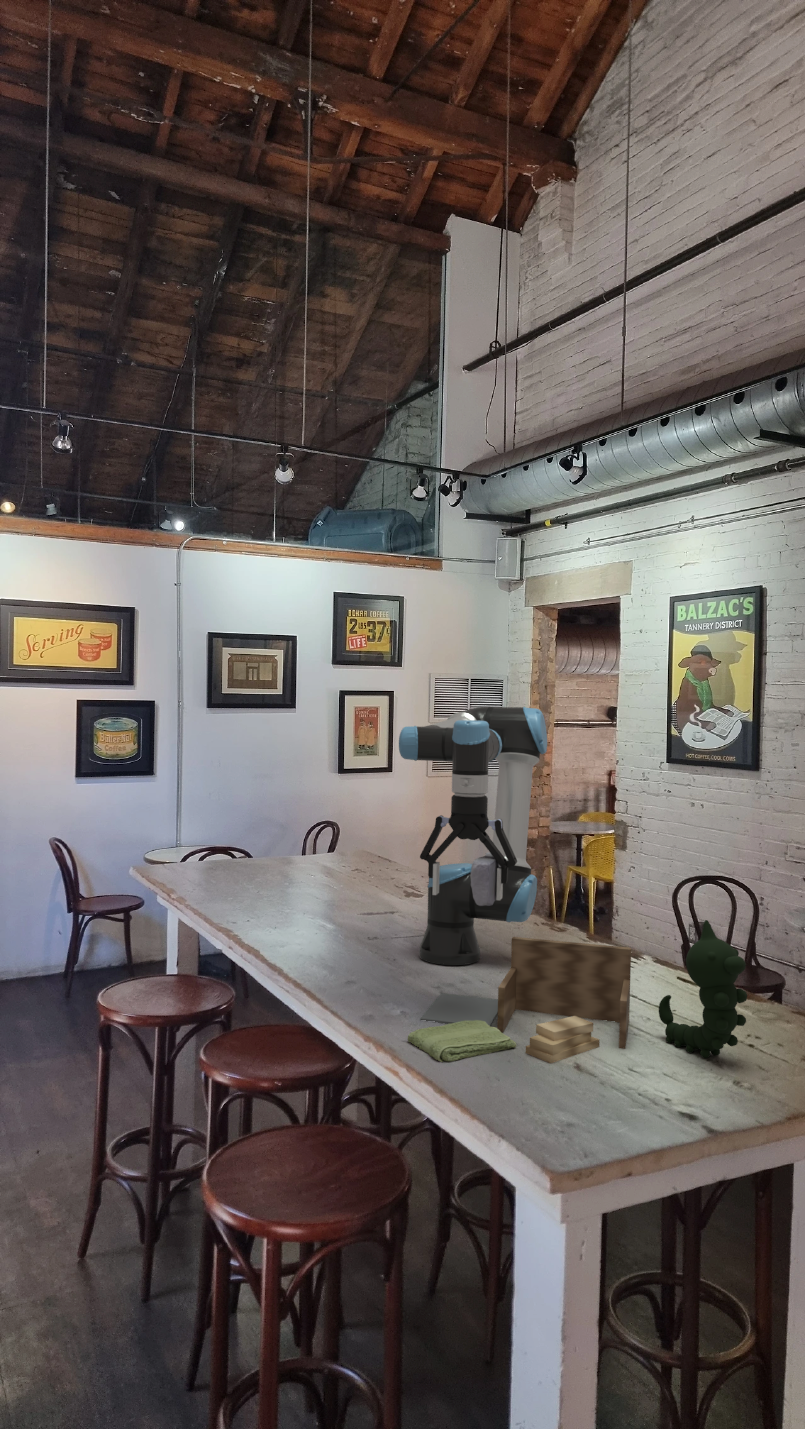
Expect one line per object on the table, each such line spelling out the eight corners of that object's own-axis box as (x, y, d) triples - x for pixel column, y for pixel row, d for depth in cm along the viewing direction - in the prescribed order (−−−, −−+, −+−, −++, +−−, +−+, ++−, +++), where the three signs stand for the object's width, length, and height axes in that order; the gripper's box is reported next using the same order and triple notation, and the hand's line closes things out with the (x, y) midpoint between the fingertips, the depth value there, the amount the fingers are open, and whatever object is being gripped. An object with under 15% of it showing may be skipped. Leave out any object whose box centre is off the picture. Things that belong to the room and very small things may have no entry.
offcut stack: (574, 1039, 181) (574, 1012, 181) (599, 1048, 176) (600, 1021, 176) (525, 1055, 172) (526, 1027, 172) (551, 1065, 167) (551, 1036, 167)
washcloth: (520, 1051, 174) (520, 1034, 174) (440, 1068, 165) (441, 1050, 165) (479, 1030, 185) (479, 1013, 185) (402, 1044, 176) (403, 1027, 176)
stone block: (496, 909, 186) (487, 859, 187) (473, 911, 188) (465, 862, 189) (513, 896, 197) (505, 849, 198) (492, 898, 199) (484, 851, 199)
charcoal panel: (420, 1022, 187) (420, 1018, 187) (441, 996, 205) (441, 992, 205) (488, 1030, 183) (488, 1026, 183) (504, 1003, 201) (504, 999, 201)
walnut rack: (497, 1033, 182) (499, 955, 182) (510, 1008, 198) (512, 936, 198) (625, 1048, 175) (627, 968, 175) (629, 1021, 191) (631, 947, 191)
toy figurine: (721, 1073, 165) (725, 932, 164) (642, 1039, 181) (645, 910, 181) (756, 1064, 169) (760, 927, 169) (676, 1031, 186) (680, 906, 186)
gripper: (407, 793, 194) (404, 895, 194) (526, 799, 187) (524, 905, 187) (416, 789, 201) (414, 888, 201) (532, 795, 194) (529, 897, 194)
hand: (467, 896), depth 194 cm, fingers open, 13 cm apart
